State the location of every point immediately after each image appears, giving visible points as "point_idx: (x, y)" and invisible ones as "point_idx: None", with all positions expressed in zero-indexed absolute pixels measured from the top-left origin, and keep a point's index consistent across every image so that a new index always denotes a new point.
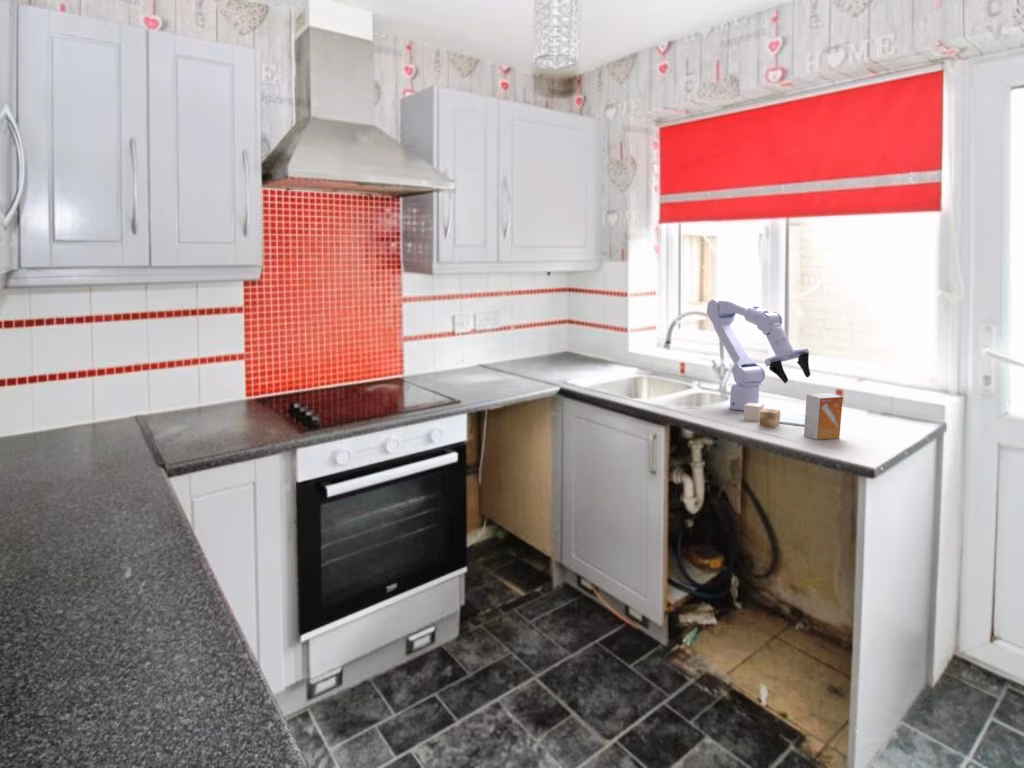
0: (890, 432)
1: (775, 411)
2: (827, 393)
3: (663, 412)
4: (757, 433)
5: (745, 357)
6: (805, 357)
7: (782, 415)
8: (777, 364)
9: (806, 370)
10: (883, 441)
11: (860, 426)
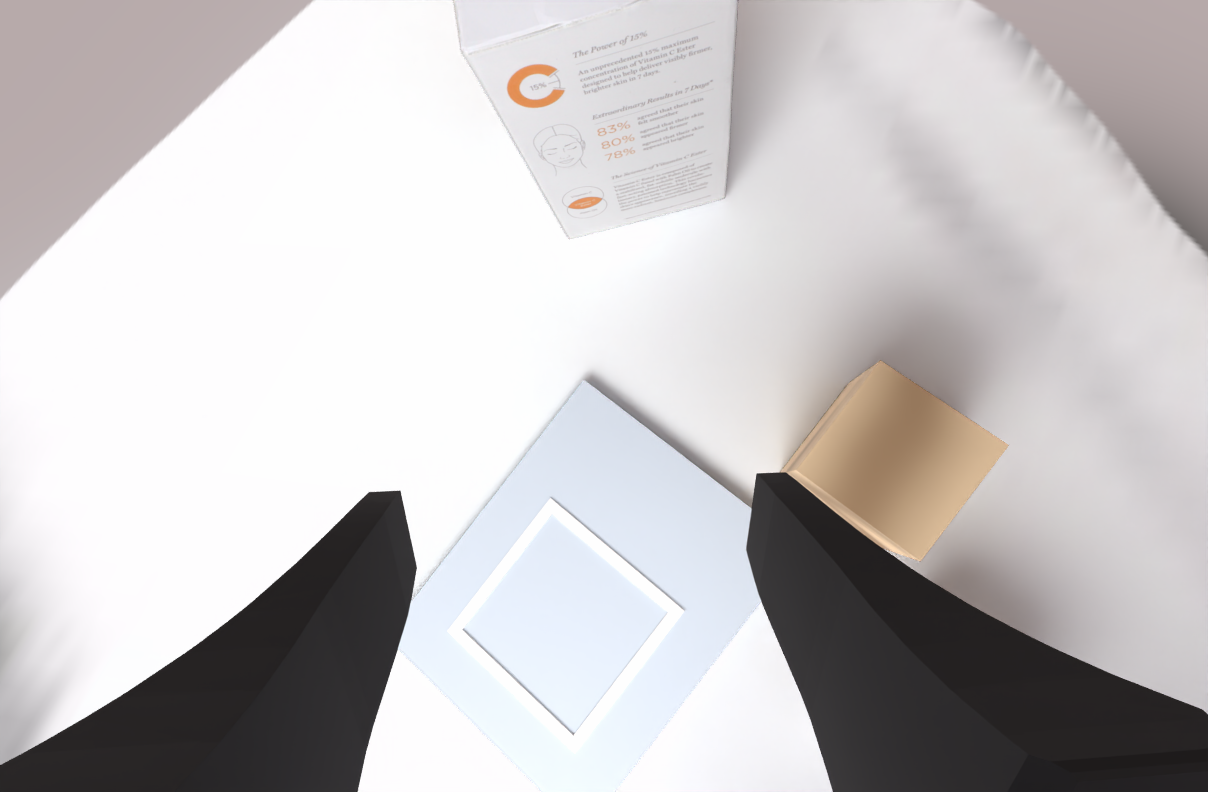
0: (224, 239)
1: (857, 430)
2: (499, 12)
3: None
4: (1036, 251)
5: None
6: (128, 750)
7: (661, 702)
8: (1083, 681)
9: (373, 559)
10: (362, 72)
11: (293, 376)
